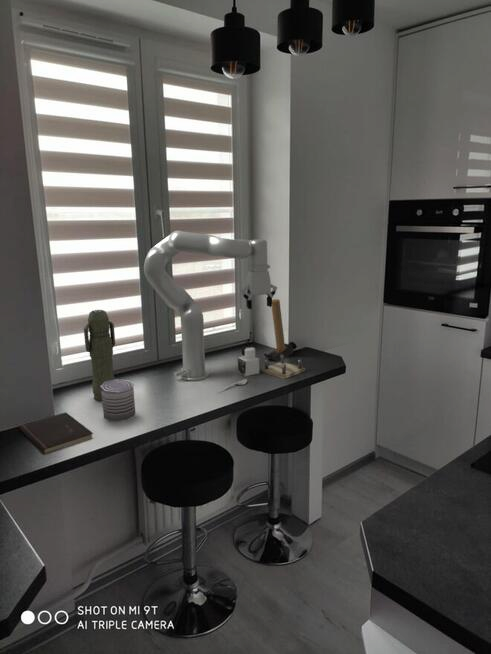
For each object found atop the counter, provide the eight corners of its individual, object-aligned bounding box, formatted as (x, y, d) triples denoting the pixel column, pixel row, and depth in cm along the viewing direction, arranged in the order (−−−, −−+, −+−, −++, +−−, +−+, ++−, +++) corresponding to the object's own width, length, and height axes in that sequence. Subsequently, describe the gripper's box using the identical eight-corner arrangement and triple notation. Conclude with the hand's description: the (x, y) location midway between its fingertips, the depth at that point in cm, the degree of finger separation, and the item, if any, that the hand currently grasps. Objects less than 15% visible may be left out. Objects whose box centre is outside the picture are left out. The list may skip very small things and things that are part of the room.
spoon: (250, 383, 209) (250, 380, 208) (213, 397, 194) (213, 393, 194) (243, 381, 211) (243, 377, 211) (207, 394, 197) (206, 390, 197)
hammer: (273, 366, 236) (265, 308, 225) (265, 364, 239) (257, 307, 228) (297, 350, 250) (291, 294, 239) (289, 348, 253) (282, 293, 242)
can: (126, 406, 186) (124, 376, 183) (141, 415, 177) (139, 384, 174) (98, 415, 178) (95, 384, 175) (112, 424, 170) (109, 392, 167)
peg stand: (284, 378, 212) (284, 366, 211) (261, 371, 222) (261, 360, 221) (305, 371, 222) (305, 359, 220) (282, 364, 232) (282, 353, 230)
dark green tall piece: (124, 395, 197) (117, 309, 189) (99, 404, 188) (91, 315, 180) (111, 390, 202) (103, 307, 194) (86, 399, 193) (77, 312, 185)
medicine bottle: (238, 371, 223) (237, 346, 220) (251, 369, 226) (251, 344, 223) (245, 376, 216) (245, 350, 214) (259, 373, 220) (259, 348, 217)
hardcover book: (66, 418, 178) (65, 412, 177) (93, 439, 161) (93, 432, 160) (20, 431, 167) (19, 425, 167) (44, 455, 150) (43, 448, 150)
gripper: (272, 266, 218) (272, 304, 222) (236, 269, 211) (238, 308, 215) (280, 267, 211) (280, 306, 215) (244, 271, 204) (245, 311, 208)
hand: (259, 307), depth 215 cm, fingers open, 9 cm apart
